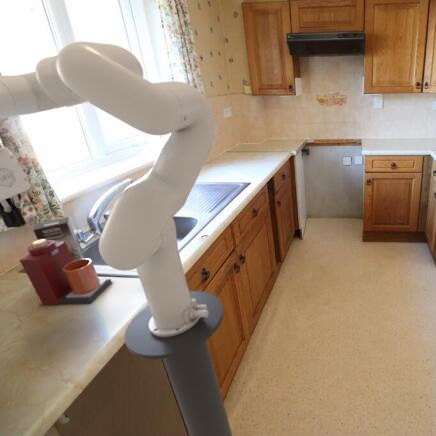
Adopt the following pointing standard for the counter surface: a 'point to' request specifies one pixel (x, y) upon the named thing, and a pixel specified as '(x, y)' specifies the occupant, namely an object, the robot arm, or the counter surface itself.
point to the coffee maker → (83, 298)
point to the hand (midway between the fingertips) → (16, 225)
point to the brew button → (40, 243)
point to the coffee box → (59, 235)
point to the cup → (81, 276)
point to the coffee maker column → (48, 270)
